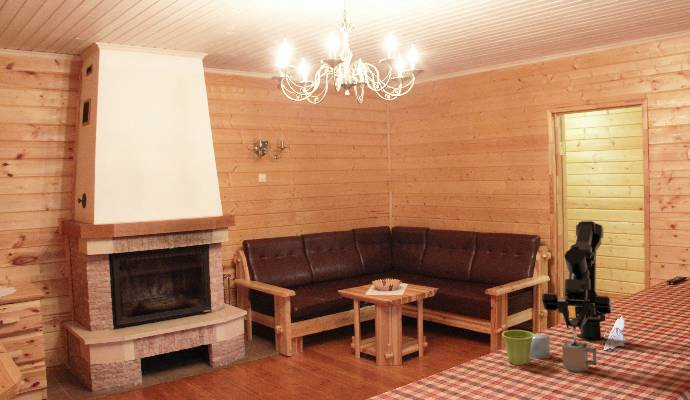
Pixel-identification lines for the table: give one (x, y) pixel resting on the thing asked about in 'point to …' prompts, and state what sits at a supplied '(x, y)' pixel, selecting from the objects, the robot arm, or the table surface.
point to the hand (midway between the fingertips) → (573, 328)
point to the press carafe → (577, 356)
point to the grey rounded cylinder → (540, 346)
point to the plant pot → (518, 346)
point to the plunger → (574, 327)
